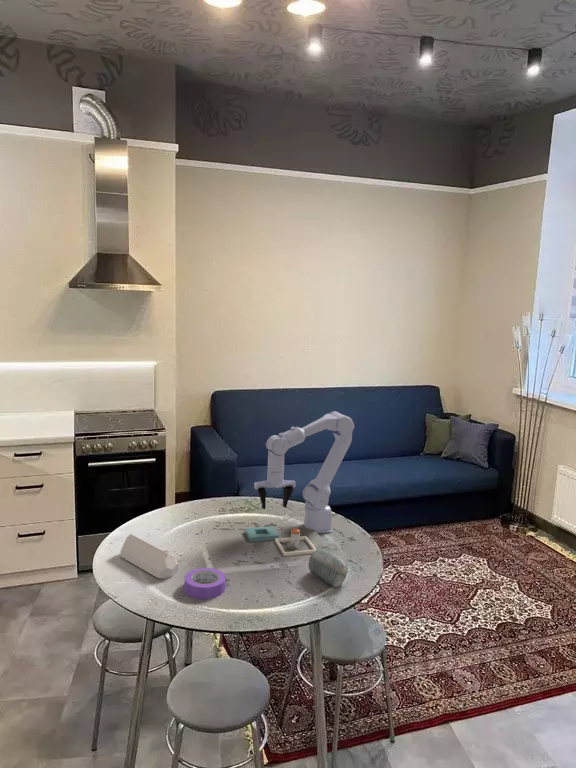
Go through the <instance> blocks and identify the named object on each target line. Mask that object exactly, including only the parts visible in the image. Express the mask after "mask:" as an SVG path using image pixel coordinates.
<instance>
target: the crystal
mask: <svg viewBox="0 0 576 768" xmlns="http://www.w3.org/2000/svg"><path fill="white" fill-rule="evenodd" d="M120 557H121V558H122V559H123V560H126V561H127V562H129V563H131V564H133V565H135V566H136V567H138V568H140V569H141V570H143V571H144V572H146V573H149V574H150V575H152V576H154V577H156V578H157V579H162V578H165V579H168V578H170V577H173V576H174V575H176V573H177V572H178V571H179V566H180V565H179V562H178V561H177V559H176V557H174V556H173V555H172V554H169V553H167V552H166V551H164V550H162V549H160V548H158V547H156V546H154V545H152V544H150V543H148V542H147V541H145V540H143V539H141V538H139V537H137V536H136V535H133V534H132V533H131V534H128V536H126V538H125V540H124V542H123V545H122V547H121V549H120ZM162 580H163V579H162Z"/></svg>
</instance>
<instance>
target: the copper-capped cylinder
mask: <svg viewBox="0 0 576 768" xmlns="http://www.w3.org/2000/svg"><path fill="white" fill-rule="evenodd" d="M290 537H291V541H290V545H289V546H290V547H289V548H290V549H292V550H298V549H300V543H301V540H300V537H301V529H300V528H298V527H293V528H291V529H290Z"/></svg>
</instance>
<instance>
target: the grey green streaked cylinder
mask: <svg viewBox="0 0 576 768" xmlns="http://www.w3.org/2000/svg"><path fill="white" fill-rule="evenodd" d="M316 549H317V550H315V551H314V552H313V553H312V554H310V557H309V560H308V569H309V571H310V573H311V574H313V575H315V576H316V577H318V578H320V579H321V580H323V581H324V582H326V583H327V584H329V585H330V586H332V587H339V586H341V585H342V584H343V583H344V581H345V580H346V578H347V574H348V566H347V564H346V562H345V561H344V560H343V559H342V558H341V557H339V556H338V555H336V554H334V553H332V552H330V551H329V550H325V549H322V548H316Z"/></svg>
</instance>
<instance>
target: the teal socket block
mask: <svg viewBox="0 0 576 768" xmlns="http://www.w3.org/2000/svg"><path fill="white" fill-rule="evenodd" d="M244 533H245V535H246V537H247V539H248V540H249V542H250V543H252V542H265V541H266V542H267V541H275V539H278V538H279V536H280V535H279V534H278V533H277V530H276V529H275V527H274V526H273V525H269V526H256V527H245V528H244Z"/></svg>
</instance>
